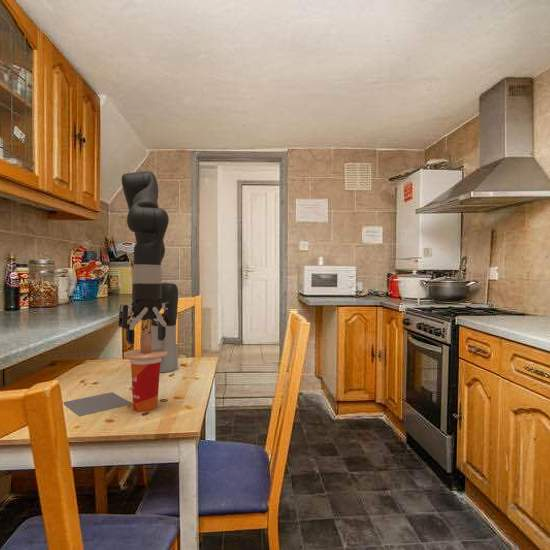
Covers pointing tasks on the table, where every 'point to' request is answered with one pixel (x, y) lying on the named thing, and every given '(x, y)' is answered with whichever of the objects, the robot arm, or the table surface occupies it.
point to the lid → (145, 350)
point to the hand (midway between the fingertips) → (146, 342)
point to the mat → (96, 403)
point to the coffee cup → (145, 384)
